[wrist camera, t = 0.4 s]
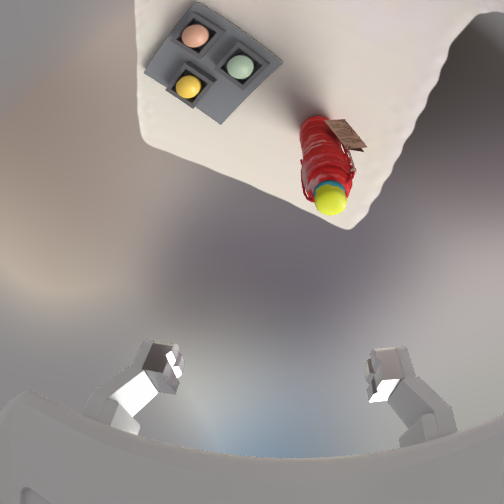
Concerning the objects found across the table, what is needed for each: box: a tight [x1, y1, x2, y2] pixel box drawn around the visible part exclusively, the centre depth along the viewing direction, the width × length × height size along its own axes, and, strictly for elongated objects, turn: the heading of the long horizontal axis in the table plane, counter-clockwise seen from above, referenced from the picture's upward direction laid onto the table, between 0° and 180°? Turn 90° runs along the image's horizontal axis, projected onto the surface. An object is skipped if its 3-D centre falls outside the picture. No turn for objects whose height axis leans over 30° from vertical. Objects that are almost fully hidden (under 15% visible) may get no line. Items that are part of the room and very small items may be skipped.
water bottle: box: [300, 116, 367, 215], centre depth 42 cm, size 12×8×25 cm, turn 132°
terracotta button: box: [182, 24, 210, 47], centre depth 34 cm, size 4×4×2 cm
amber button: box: [176, 74, 202, 98], centre depth 42 cm, size 4×4×2 cm
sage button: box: [227, 54, 254, 79], centre depth 39 cm, size 4×4×2 cm
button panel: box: [144, 2, 283, 125], centre depth 40 cm, size 18×20×4 cm
